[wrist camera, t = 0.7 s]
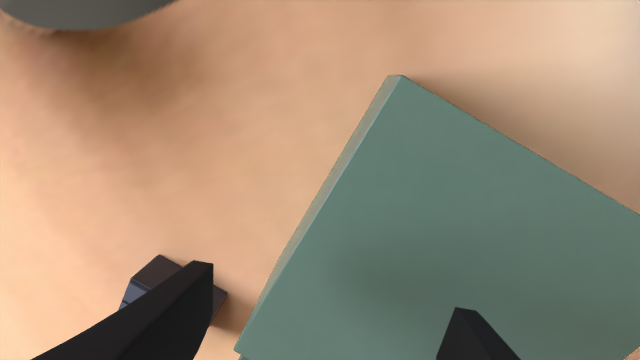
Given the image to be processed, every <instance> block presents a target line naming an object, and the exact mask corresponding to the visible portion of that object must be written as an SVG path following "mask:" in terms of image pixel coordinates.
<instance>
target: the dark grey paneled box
mask: <svg viewBox="0 0 640 360" xmlns="http://www.w3.org/2000/svg"><path fill="white" fill-rule="evenodd" d="M181 268H182V267H180V266H179V265H177V264H175V263H173V262H172V261H170V260H168V259H166V258H164V257H163V256H161V255H158V256H156V257H155V258H154V259H153V260H152V261H151V262H149V263H148V264H147V265H146V266H145V267H143V268H142V269H141V270H140V271H139V272H138V273H136V274H135V275H134V276H133V277H132V278H131V279H130V282H129V284H128V287H127V290H126V292H125V295H124V297H123V300H122V302H121V305H120V307H119V310H120V309H122V308H123V307H125V306H126V305H128V304H130V303H131V302H133V301H134V300H136V299H137V298H139V297H140V296H142V295H143V294H145V293H146V292H148V291H149V290H151V289H152V288H154V287H155V286H157V285H158V284H160V283H161V282H162V281H164V280H165V279H167V278H168V277H170V276H171V275H173V274H174V273H176V272H177V271H178V270H180V269H181ZM226 295H227V292H225V291H223V290H222V289H220V288H218V287H216V286H214V285H213V316H212V319H211V321H210V324H211V322H212V320H213V318H214V317H215V315H216V313H217V311H218V309H219V307H220V306H221V304H222V302H223V300H224V298H225V296H226ZM210 324H209V326H210ZM209 326H208V327H209Z"/></svg>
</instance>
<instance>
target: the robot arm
mask: <svg viewBox="0 0 640 360" xmlns="http://www.w3.org/2000/svg"><path fill="white" fill-rule="evenodd" d="M212 316H213V264H212V263H206V262H200V261H195V260H193V261H192V262H190V263H189V264H187V265H186V266H184V267H183V268H181V269H180V270H178V271H177V272H176V273H174V274H173V275H171V276H170V277H168V278H167V279H165V280H164V281H162V282H161V283H160V284H158V285H157V286H155V287H154V288H152V289H151V290H149V291H148V292H146V293H145V294H143V295H142V296H140V297H139V298H137V299H136V300H134V301H133V302H131V303H130V304H128V305H126V306H125V307H123V308H122V309H120V310H118V311H117V312H115V313H113V314H112V315H110V316H109V317H107V318H105V319H104V320H102V321H100V322H99V323H97V324H95V325H94V326H92V327H91V328H89V329H87V330H85V331H84V332H82V333H80V334H78V335H77V336H75V337H73V338H71V339H69V340H67V341H66V342H64V343H62V344H60V345H58V346H56V347H54V348H52V349H50V350H49V351H47V352H45V353H43V354H41V355H39V356H37V357H35V358H33V359H31V360H193V359H194V357H195V355H196V353H197V351H198V350H199V347H200V345H201V343H202V340H203V338H204V336H205V334H206V331H207V329H208V326H209V324H210V321H211V319H212ZM436 360H521V359H520V358H519V357H518V356H517V355H516V354H515V352H514V351H513V350H512V349H511V348H510V347H509V346H508V345H507V343H506V342H505V341H504V340H503V339H502V338H501V337H500V336H499V334H498V333H497V332H496V331H495V330H494V329H493V328H492V327H491V326H490V324H489V323H488V322H487V321H486V320H485V319H484V318H483V317H482V316H481V315H480V314H479V313H478V312H477V311H476V310H471V309H465V308H459V307H455V309H454V311H453V314H452V317H451V319H450V322H449V324H448V327H447V330H446V332H445V335H444V337H443V340H442V343H441V345H440V348H439V350H438V353H437V356H436Z"/></svg>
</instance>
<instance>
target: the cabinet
mask: <svg viewBox="0 0 640 360" xmlns="http://www.w3.org/2000/svg"><path fill="white" fill-rule="evenodd" d="M455 307H459V308H465V309H471V310H476V311H477V312H478V313H479V314H480V315H481V316H482V317H483V318H484V319H485V320H486V321H487V322H488V323H489V324H490V326H491V327H492V328H493V329H494V330H495V331H496V332H497V333H498V334H499V336H500V337H501V338H502V339H503V340H504V341H505V342H506V343H507V345H508V346H509V347H510V348H511V349H512V350H513V351H514V352H515V354H516V355H517V356H518V357H519V358H520V359H521V360H623V359H624V358H625V357H627V356H628V355H629V354H631V353H632V352H633V351H634V350H636V349H637V348H638V347H639V346H640V215H639V214H637V213H636V212H634V211H632V210H631V209H629V208H627V207H625V206H624V205H622V204H620V203H619V202H617V201H615V200H614V199H612V198H610V197H608V196H607V195H605V194H603V193H602V192H600V191H598V190H597V189H595V188H593V187H592V186H590V185H588V184H586V183H585V182H583V181H581V180H580V179H578V178H576V177H575V176H573V175H571V174H569V173H568V172H566V171H564V170H563V169H561V168H559V167H558V166H556V165H554V164H553V163H551V162H549V161H547V160H546V159H544V158H542V157H541V156H539V155H537V154H536V153H534V152H532V151H530V150H529V149H527V148H525V147H524V146H522V145H520V144H519V143H517V142H515V141H514V140H512V139H510V138H508V137H507V136H505V135H503V134H502V133H500V132H498V131H497V130H495V129H493V128H491V127H490V126H488V125H486V124H485V123H483V122H481V121H480V120H478V119H476V118H475V117H473V116H471V115H469V114H468V113H466V112H464V111H463V110H461V109H459V108H458V107H456V106H454V105H452V104H451V103H449V102H447V101H446V100H444V99H442V98H441V97H439V96H437V95H436V94H434V93H432V92H430V91H429V90H427V89H425V88H424V87H422V86H420V85H419V84H417V83H415V82H413V81H412V80H410V79H408V78H407V77H405V76H403V75H388V76H387V78H386V79H385V81H384V83H383V84H382V86H381V88H380V89H379V91H378V93H377V94H376V96H375V98H374V100H373V101H372V103H371V105H370V106H369V108H368V110H367V111H366V113H365V115H364V116H363V118H362V120H361V121H360V123H359V125H358V126H357V128H356V130H355V131H354V133H353V135H352V136H351V138H350V140H349V142H348V143H347V145H346V147H345V148H344V150H343V152H342V153H341V155H340V157H339V158H338V160H337V162H336V163H335V165H334V167H333V168H332V170H331V172H330V173H329V175H328V177H327V179H326V180H325V182H324V184H323V185H322V187H321V189H320V190H319V192H318V194H317V195H316V197H315V199H314V200H313V202H312V204H311V205H310V207H309V209H308V210H307V212H306V214H305V215H304V217H303V219H302V221H301V222H300V224H299V226H298V227H297V229H296V231H295V232H294V234H293V236H292V237H291V239H290V241H289V242H288V244H287V246H286V247H285V249H284V251H283V252H282V254H281V256H280V257H279V259H278V261H277V263H276V265H275V267H274V269H273V271H272V273H271V275H270V277H269V279H268V281H267V283H266V285H265V287H264V289H263V291H262V293H261V295H260V297H259V299H258V301H257V303H256V305H255V307H254V309H253V311H252V313H251V315H250V317H249V319H248V321H247V323H246V325H245V327H244V329H243V331H242V333H241V336H240V337H239V339H238V341H237V343H236V345H235V347H234V351H236V352H237V353H239V354H241V355H243V356H245V357H246V358H248V359H250V360H436V356H437V353H438V350H439V348H440V345H441V343H442V340H443V337H444V335H445V332H446V330H447V327H448V324H449V322H450V319H451V317H452V314H453V311H454V309H455Z"/></svg>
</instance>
